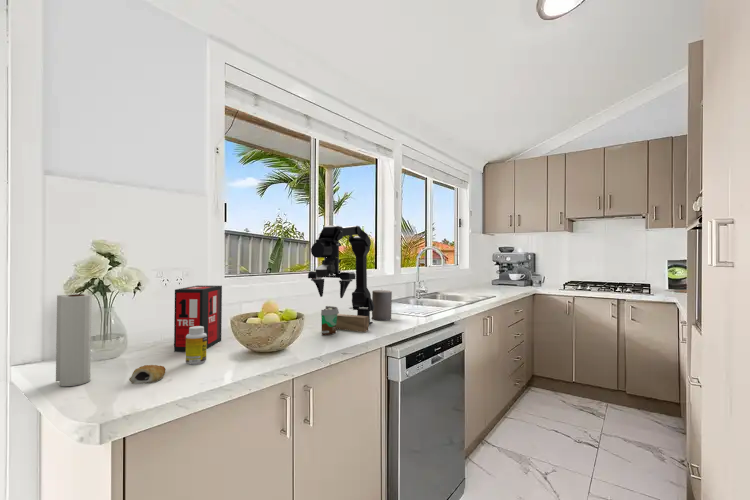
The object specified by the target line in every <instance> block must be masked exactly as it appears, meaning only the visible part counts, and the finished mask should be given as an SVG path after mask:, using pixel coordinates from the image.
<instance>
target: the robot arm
mask: <svg viewBox="0 0 750 500" xmlns="http://www.w3.org/2000/svg"><path fill="white" fill-rule="evenodd" d="M355 235H357V236H355ZM344 237H348V242H349V243H350V246H351V251H352V253H353V254H354V256H355V272H354V271H343V272H342V271H341V270H339V269H340V263H341V260H340V247H342V243H340V240H342V239H344ZM371 244H372V242H371V238H370V237H369V234H368V233H367V232H366V231H364V230H362V228H361V227H360V225H349V226H340V225H324V226H323V227H322V230H321V231H320V234H319V236H318V239H315V242H314V243H313V244H312V246H311V248H310V253H311V255H312V257H314V258H316V259H318V258H319V259H323V258H324V259H323V260H322V261H321V265H318V266H317V267H315V270H312V271H311V270H310V271H309V272H308V274H307V278H308V279H310V281H312V282H313V283H314V285H316V289H317V291H318V294H319V297H320V298H322V297H323V296H324V288H325V287H324V286H325V278H331V279H333V278H334V279H340V280H338V282H339V286H340V287H339V296H340V298H339V299H343V297H344V296H345V293H346V290H347V288H348V287H349V285H350V284H351V282H353V280H355V290H353V292H351V306H352V310H353V311H356V313H357V314H356V315H358V316H369V325H370V324H373V321H370V320H371V318H370V317H371V315H370V314H371V312H372V311H373V310H374V303H373V301H372V295H371V292H370V290H369V289H368V284H367V281H368V271H367V268H368V267H367V263H368V262H367V256H368V254H369V252H370V250H371Z"/></svg>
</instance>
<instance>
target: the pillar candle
mask: <svg viewBox="0 0 750 500" xmlns="http://www.w3.org/2000/svg"><path fill="white" fill-rule="evenodd" d="M371 293H372V295H371V299H372V301H373V303H374V310H373V311H371V319H372V320H374V321H390V319H391V320H392V296H393V291H391V290H384V289H376V290H372V292H371Z"/></svg>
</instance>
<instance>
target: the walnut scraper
mask: <svg viewBox="0 0 750 500" xmlns="http://www.w3.org/2000/svg"><path fill="white" fill-rule="evenodd" d="M369 326H370V324H369V316H358V315H357V314H356V315H354V314H345V313H338V314H337V323H336V330H344V331H349V332H350V331H352V332H361V333H366V332H367V331H369V330H370V329H369Z"/></svg>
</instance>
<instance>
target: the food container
mask: <svg viewBox="0 0 750 500" xmlns="http://www.w3.org/2000/svg"><path fill="white" fill-rule="evenodd" d="M338 308H339V307H337V306H331V305H326V306H325V308H324V309H321V313H320V315H321V336H332V335H335V334H336V333H337V329H336V323H337V314H340V312H339V309H338Z"/></svg>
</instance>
